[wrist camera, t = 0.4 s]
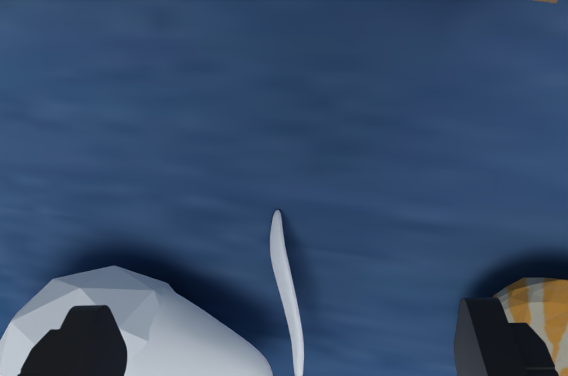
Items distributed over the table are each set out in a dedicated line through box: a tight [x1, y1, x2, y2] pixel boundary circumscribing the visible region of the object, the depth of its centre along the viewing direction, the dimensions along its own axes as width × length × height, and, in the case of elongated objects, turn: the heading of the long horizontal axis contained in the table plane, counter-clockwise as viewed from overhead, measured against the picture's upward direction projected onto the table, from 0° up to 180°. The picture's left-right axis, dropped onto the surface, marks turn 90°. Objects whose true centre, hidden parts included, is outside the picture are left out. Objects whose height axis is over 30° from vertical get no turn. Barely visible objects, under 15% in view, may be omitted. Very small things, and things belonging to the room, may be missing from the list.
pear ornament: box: [0, 210, 304, 376], centre depth 41 cm, size 16×22×28 cm
